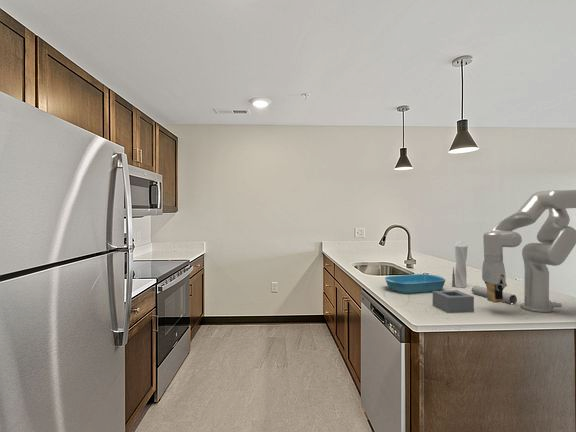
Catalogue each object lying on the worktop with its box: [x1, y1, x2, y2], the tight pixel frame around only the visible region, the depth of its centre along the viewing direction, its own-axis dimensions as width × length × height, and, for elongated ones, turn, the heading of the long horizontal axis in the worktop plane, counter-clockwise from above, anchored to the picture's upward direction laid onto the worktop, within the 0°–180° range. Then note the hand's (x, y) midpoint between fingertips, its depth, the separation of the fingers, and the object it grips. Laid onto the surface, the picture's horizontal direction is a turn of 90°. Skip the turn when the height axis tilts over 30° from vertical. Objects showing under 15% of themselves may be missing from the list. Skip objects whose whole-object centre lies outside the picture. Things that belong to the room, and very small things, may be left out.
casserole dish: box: [384, 273, 446, 294], centre depth 204 cm, size 37×22×7 cm, turn 105°
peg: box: [486, 282, 504, 304], centre depth 157 cm, size 4×4×10 cm
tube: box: [470, 285, 518, 305], centre depth 181 cm, size 5×5×25 cm
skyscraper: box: [451, 241, 468, 289], centre depth 210 cm, size 8×8×28 cm
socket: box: [432, 289, 475, 314], centre depth 163 cm, size 13×13×7 cm
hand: (495, 297), depth 157 cm, fingers closed on peg, 4 cm apart
